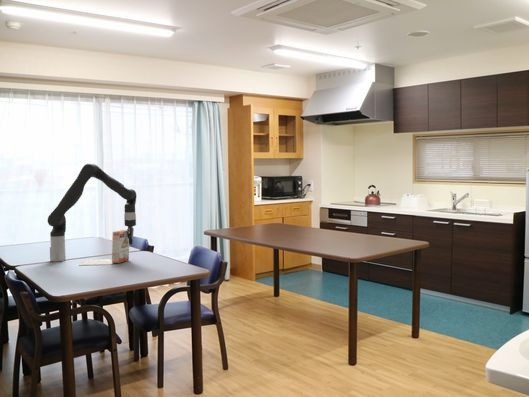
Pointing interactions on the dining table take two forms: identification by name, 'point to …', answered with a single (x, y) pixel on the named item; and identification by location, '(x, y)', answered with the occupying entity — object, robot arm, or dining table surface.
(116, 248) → the cracker box
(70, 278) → the dining table surface
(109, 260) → the mat
